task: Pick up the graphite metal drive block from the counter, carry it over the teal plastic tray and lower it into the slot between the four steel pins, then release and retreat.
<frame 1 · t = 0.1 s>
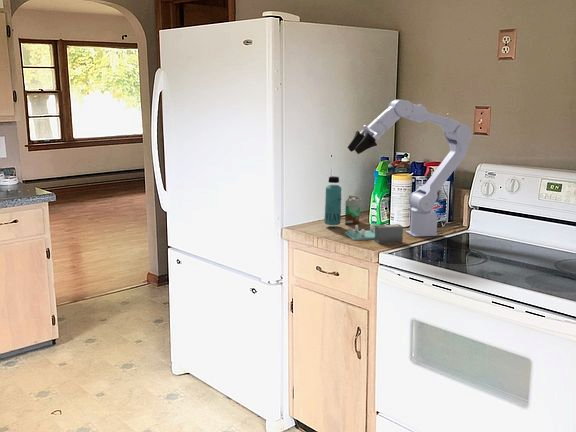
hand: (352, 150, 218), 32 cm above the worktop, tool tilted 50°, fingers open, 7 cm apart
food container: (353, 223, 249), on the worktop
tray: (367, 236, 227), on the worktop
drive: (388, 242, 219), on the worktop
beverage bottle: (332, 227, 241), on the worktop
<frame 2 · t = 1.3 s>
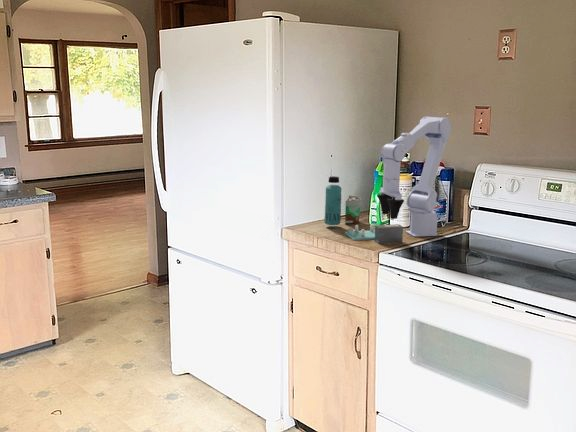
hand: (389, 216, 217), 9 cm above the worktop, tool pointing down, fingers open, 7 cm apart
nothing on the worktop moved.
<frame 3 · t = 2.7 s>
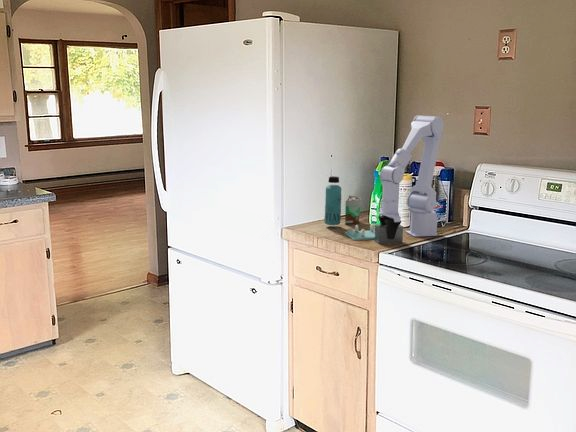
hand: (388, 237, 219), 2 cm above the worktop, tool pointing down, fingers closed on drive, 4 cm apart
drive: (388, 242, 219), on the worktop, touching gripper
everything else where it was.
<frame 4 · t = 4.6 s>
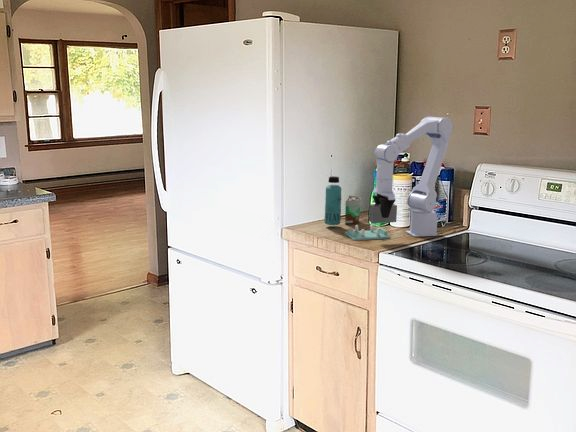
hand: (382, 216, 220), 9 cm above the worktop, tool pointing down, fingers closed on drive, 4 cm apart
drive: (382, 221, 220), point 7 cm above the worktop, touching gripper
everything else where it was.
when the fingers open (4 cm above the worktop, at t = 6.7 s): drive drops 1 cm, resting on tray.
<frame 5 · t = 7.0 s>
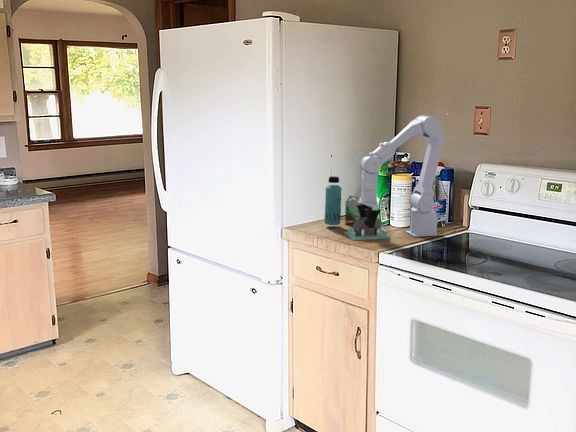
hand: (367, 225, 226), 4 cm above the worktop, tool pointing down, fingers open, 6 cm apart
drive: (366, 233, 227), point 1 cm above the worktop, touching tray
everything else where it was.
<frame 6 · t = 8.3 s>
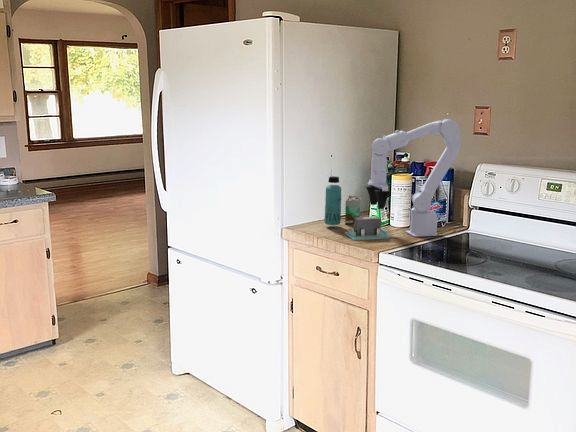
hand: (377, 206, 231), 10 cm above the worktop, tool pointing down, fingers open, 7 cm apart
nothing on the worktop moved.
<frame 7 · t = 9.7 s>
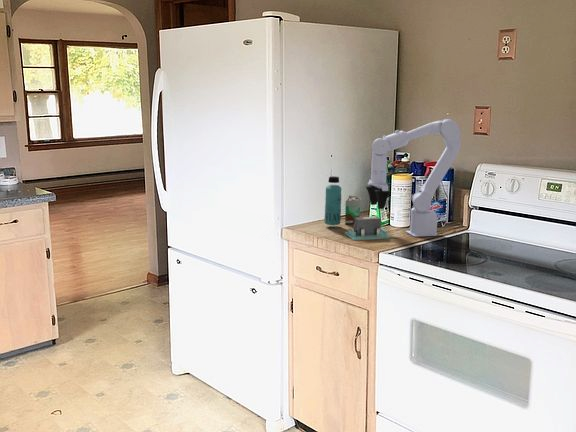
hand: (377, 206, 231), 10 cm above the worktop, tool pointing down, fingers open, 7 cm apart
nothing on the worktop moved.
at the end: drive 0.1 cm off-centre on the tray, point 0.8 cm above the tray's base; drive tilted 0°; the gripper is holding nothing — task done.
